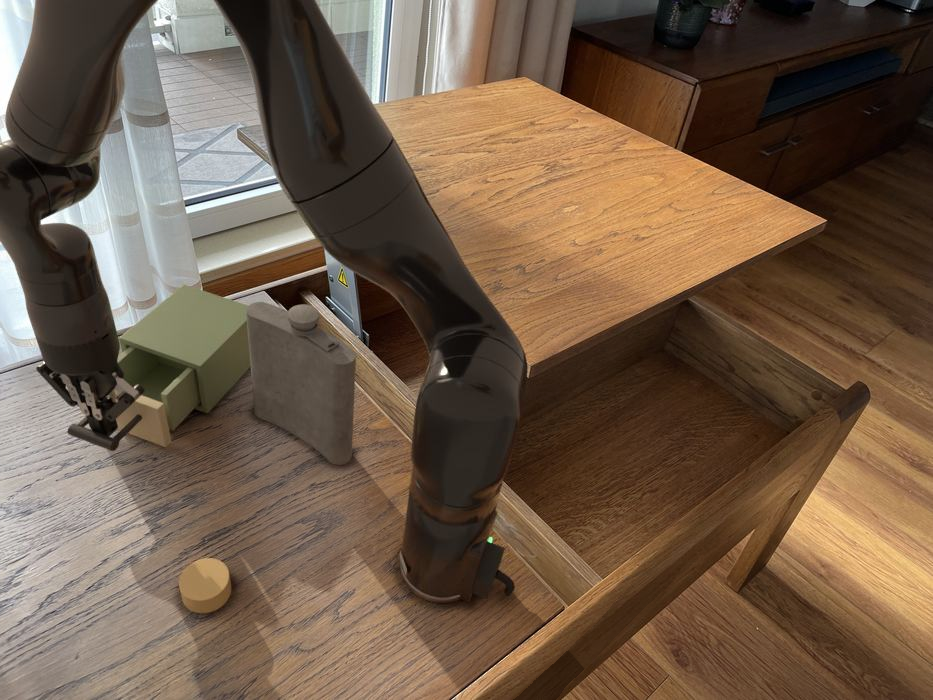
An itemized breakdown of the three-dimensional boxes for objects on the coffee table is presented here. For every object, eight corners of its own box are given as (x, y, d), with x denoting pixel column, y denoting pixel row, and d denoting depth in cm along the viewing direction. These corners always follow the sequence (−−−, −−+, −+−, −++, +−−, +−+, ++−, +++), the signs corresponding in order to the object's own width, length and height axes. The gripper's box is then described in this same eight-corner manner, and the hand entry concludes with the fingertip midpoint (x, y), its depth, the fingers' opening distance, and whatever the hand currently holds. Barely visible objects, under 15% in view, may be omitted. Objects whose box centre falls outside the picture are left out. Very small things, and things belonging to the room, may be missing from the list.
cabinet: (207, 413, 96) (200, 366, 90) (130, 385, 98) (118, 337, 92) (261, 354, 106) (258, 308, 100) (190, 330, 108) (183, 284, 102)
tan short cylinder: (240, 581, 78) (238, 567, 76) (213, 620, 74) (211, 607, 73) (200, 565, 79) (197, 551, 77) (172, 603, 75) (168, 589, 73)
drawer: (135, 480, 85) (125, 441, 81) (58, 450, 87) (44, 411, 83) (223, 386, 99) (218, 348, 94) (155, 361, 101) (147, 324, 96)
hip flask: (249, 412, 97) (238, 293, 84) (271, 396, 100) (263, 278, 87) (341, 469, 92) (344, 351, 79) (360, 450, 94) (367, 333, 82)
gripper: (-9, 321, 73) (35, 436, 84) (101, 361, 71) (131, 473, 82) (47, 284, 79) (81, 396, 90) (151, 319, 76) (173, 430, 88)
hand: (105, 432), depth 86 cm, fingers closed
